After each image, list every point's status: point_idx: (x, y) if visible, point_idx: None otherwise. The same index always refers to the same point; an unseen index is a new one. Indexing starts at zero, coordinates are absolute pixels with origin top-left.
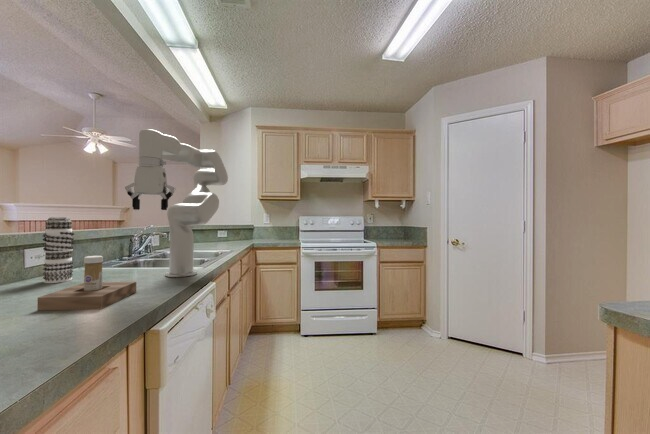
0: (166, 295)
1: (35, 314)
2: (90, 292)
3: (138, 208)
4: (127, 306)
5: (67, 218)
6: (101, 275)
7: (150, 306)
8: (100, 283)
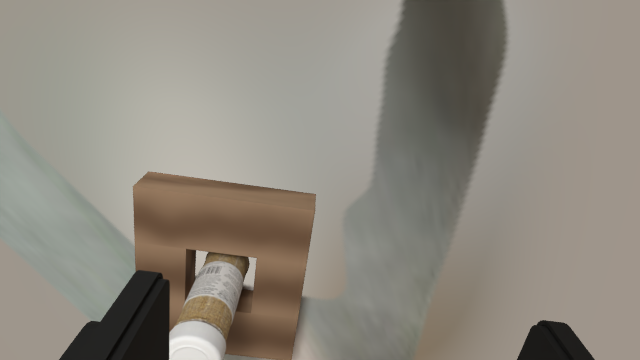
0: (423, 254)
1: None
2: (240, 322)
3: (164, 311)
4: (347, 330)
5: None
6: (235, 309)
7: (402, 340)
8: (239, 295)
